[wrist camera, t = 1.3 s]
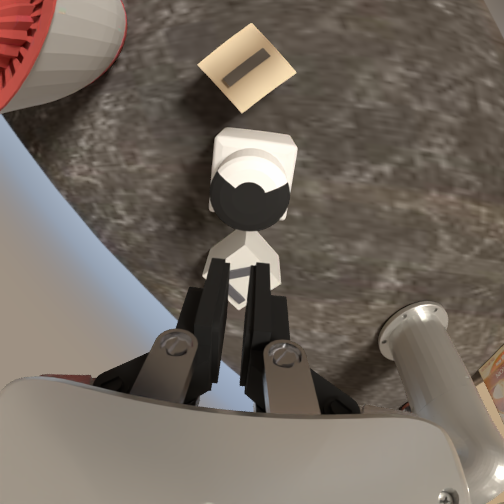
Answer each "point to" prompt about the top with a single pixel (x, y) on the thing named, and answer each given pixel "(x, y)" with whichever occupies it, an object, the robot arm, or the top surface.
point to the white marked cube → (244, 262)
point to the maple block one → (246, 67)
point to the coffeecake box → (495, 379)
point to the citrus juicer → (56, 47)
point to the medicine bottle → (251, 177)
